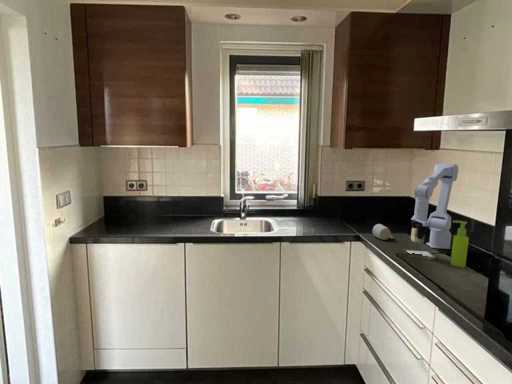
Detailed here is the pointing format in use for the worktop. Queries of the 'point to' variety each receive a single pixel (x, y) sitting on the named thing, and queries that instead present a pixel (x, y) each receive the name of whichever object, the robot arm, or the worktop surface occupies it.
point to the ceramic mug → (381, 232)
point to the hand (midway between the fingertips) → (418, 237)
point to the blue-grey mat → (420, 253)
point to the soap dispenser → (459, 246)
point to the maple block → (415, 237)
